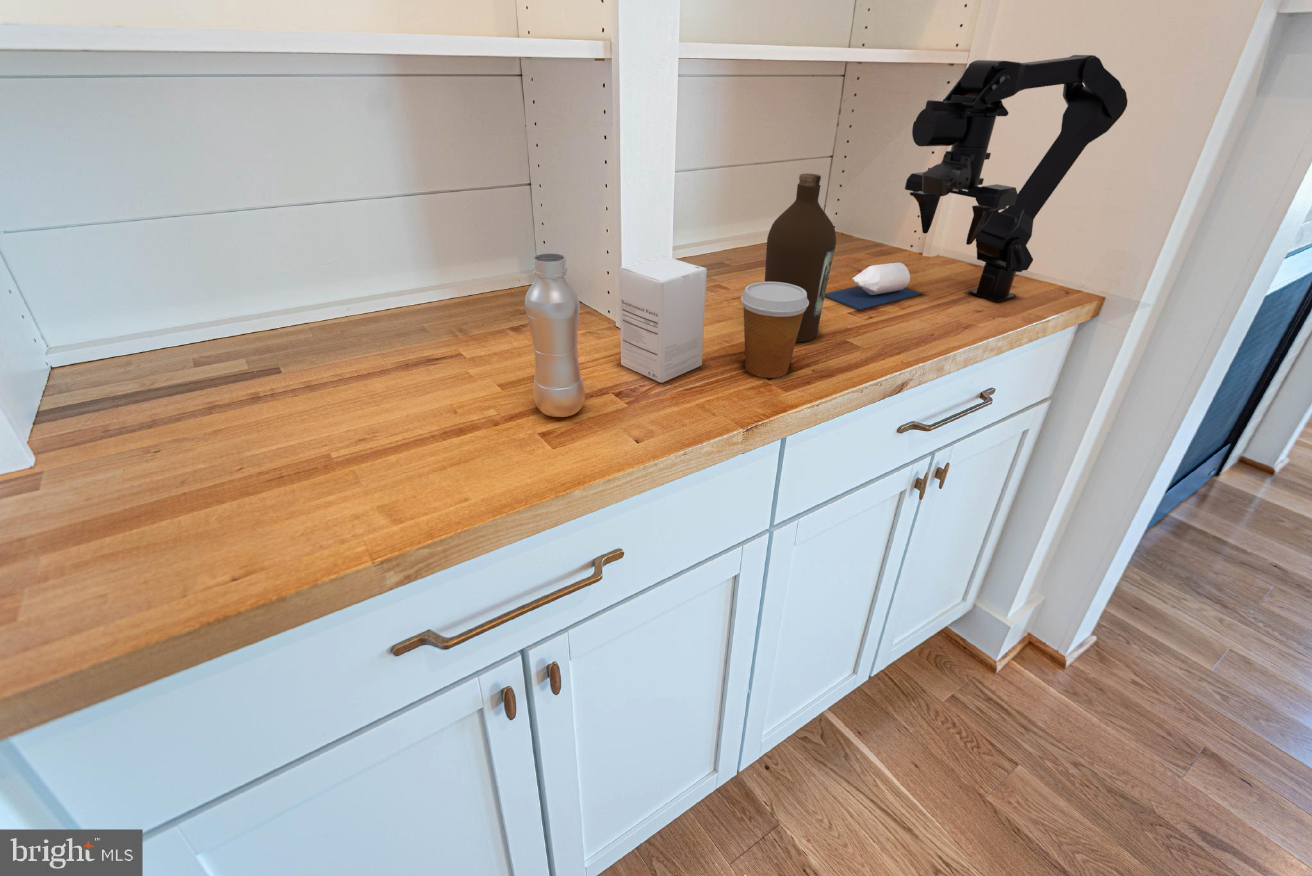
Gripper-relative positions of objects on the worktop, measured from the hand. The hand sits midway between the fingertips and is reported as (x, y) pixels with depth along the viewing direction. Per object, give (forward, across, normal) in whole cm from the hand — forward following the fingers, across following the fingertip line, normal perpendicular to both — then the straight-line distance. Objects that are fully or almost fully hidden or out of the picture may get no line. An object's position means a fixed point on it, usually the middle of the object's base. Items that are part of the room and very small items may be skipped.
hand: (946, 238), depth 116 cm
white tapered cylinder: (+12, -8, -7) cm, 16 cm away
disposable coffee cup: (+12, +7, -48) cm, 50 cm away
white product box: (+12, -2, -61) cm, 62 cm away
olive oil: (+12, -2, -35) cm, 37 cm away
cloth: (+12, -8, -7) cm, 16 cm away
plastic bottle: (+12, +3, -80) cm, 81 cm away
